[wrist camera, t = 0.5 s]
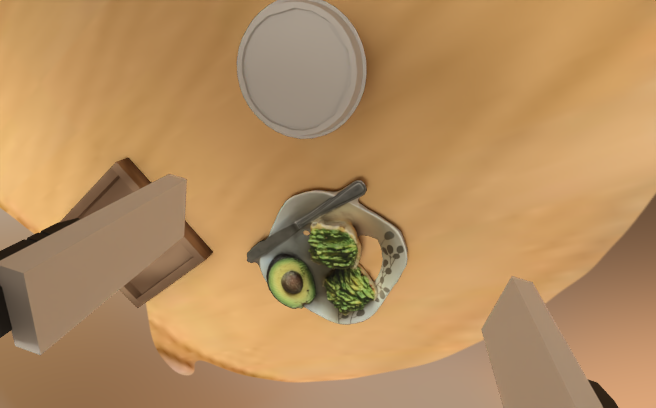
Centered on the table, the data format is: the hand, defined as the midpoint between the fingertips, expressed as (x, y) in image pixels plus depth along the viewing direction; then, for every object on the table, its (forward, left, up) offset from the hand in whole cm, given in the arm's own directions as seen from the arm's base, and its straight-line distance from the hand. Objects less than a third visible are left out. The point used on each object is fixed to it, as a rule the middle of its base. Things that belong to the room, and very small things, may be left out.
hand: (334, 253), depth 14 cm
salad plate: (+9, -14, -25) cm, 30 cm away
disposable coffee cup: (-8, 0, -25) cm, 26 cm away
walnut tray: (-8, -35, -24) cm, 44 cm away
